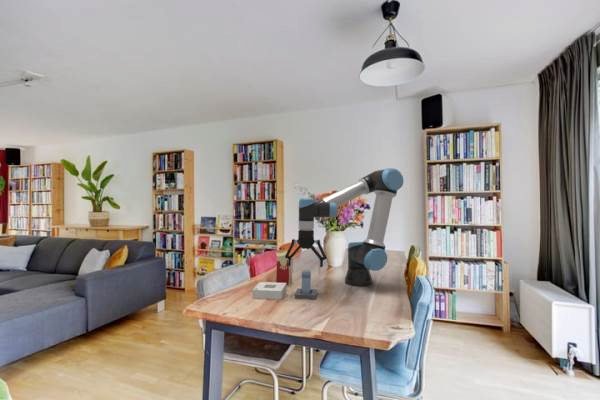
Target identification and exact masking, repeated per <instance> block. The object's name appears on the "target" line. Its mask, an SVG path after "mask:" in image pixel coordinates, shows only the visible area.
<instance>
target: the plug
mask: <svg viewBox="0 0 600 400" xmlns="http://www.w3.org/2000/svg"><path fill="white" fill-rule="evenodd" d="M311 279H312V272H311V270H309V269H308V270H307V269H302V270H301V288H302V293H308V294H311V289H312V287H311V283H312V282H311V281H312V280H311Z"/></svg>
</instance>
